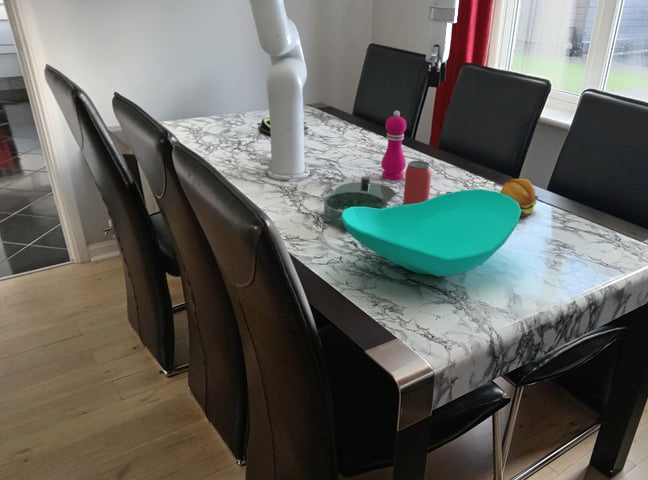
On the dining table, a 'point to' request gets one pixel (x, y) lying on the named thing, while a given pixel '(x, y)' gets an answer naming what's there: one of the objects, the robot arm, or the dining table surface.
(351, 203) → the pot
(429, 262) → the table top decor
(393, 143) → the pepper mill
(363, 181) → the lid
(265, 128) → the salad plate
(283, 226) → the dining table surface
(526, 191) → the cheeseburger
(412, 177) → the beer can
